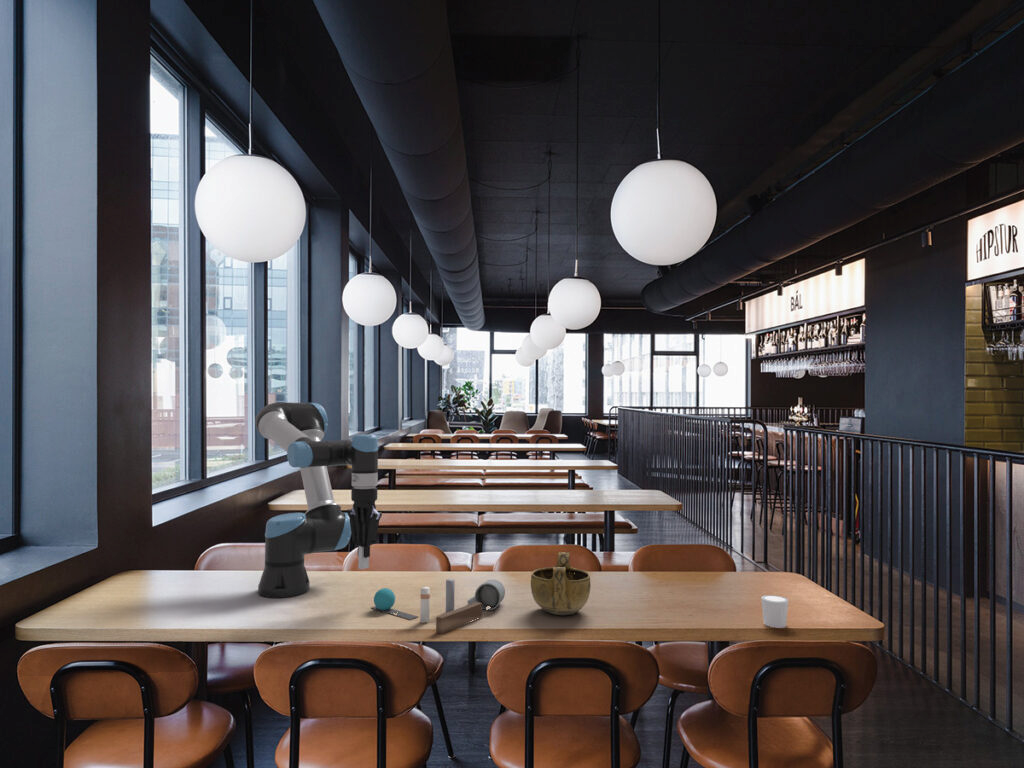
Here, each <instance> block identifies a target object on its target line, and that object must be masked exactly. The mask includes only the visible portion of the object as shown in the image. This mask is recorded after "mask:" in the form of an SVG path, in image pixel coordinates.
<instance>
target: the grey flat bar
mask: <svg viewBox="0 0 1024 768" xmlns="http://www.w3.org/2000/svg"><path fill="white" fill-rule="evenodd" d="M371 608H373V610H375V609H377V610H376V611H378V610H380V609H378V608H377V607H376V606H375V605H374V606H372V607H370V609H371ZM381 611H383V612H382V613H385V612H387V613H386V614H388V613H390V614H389V615H391V613H392V614H393V613H395V614H396V613H397V612H398V613H397V616H396V617H398V616H400V617H399V618H402V617H404V618H403V619H405V618H407V619H406V620H408V619H412V620H415V619H417V618H416V617H418V618H419V616H418V615H415V614H411V613H407V612H405V611H400V610H396V609H393V608H390V609H388V610H380V611H379V612H381ZM414 618H415V619H414Z"/></svg>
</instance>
